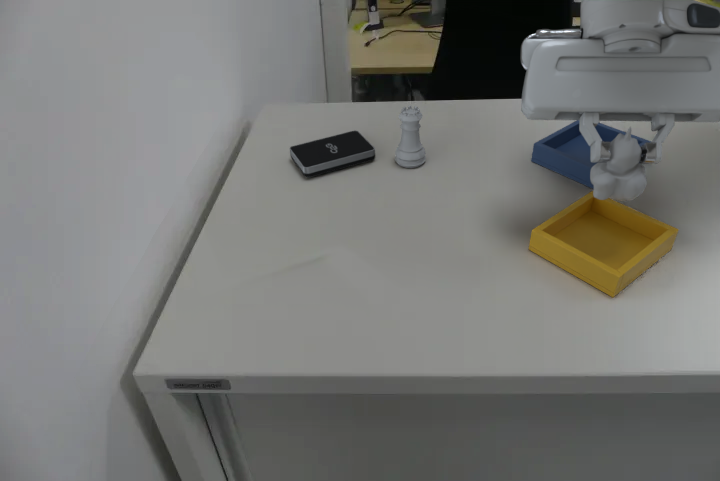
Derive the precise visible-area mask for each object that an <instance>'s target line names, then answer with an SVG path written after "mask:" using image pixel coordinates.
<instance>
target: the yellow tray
mask: <svg viewBox="0 0 720 481" xmlns="http://www.w3.org/2000/svg"><path fill="white" fill-rule="evenodd" d="M679 231H680V229H679V228H676V227H675V226H672V225H670V224H668V223H665V222H664V221H661V220H659V219H657V218H654V217H652V216H650V215H648V214H645V213H643V212H642V211H639V210H636V209H634V208H632V207H630V206H628V205H626V204H624V203H621V202H619V201H618V200H613V199H610V198H608V199H605V200H599V199H597V198H595V197H594V196H593V190H591V191H590V192H588V193H587V194H585V195H584V196H582V197H581V198H579V199H577V200H575V201H574V202H573V203H571V204H570V205H568V206H566V207H565V208H563V209H562V210H559V212H557V213H556V214H554V215H552V216H551V217H549V218H548V219H546V220H545V221H544V222H542V223H540V224H538V226H536V227H534V228H533V229H531V232H530V238H529V244H528V251H531V252H532V253H534V254H536V255H537V256H539V257H541V258H543V259H544V260H546V261H547V262H550V263H552V264H553V265H555V266H557V267H558V268H560V269H562V270H564V271H565V272H567V273H569V274H571V275H573V276H574V277H576V278H578V279H579V280H581V281H583V282H585V283H587V284H588V285H590V286H591V287H593V288H595V289H597V290H598V291H601V292H603V294H607V296H610V297H611V298H615V297H616V296H617V295H618V294H619V293H621V292H622V291H623V290H624V289H626V287H628V286H629V285H630V284H632V283H633V282H634V281H635V280H637V279H638V278H639V277H640V276H641V275H642V274H644V273H645V272H646V271H647V270H648V269H649V268H651V267H652V266H653V265H655V264H656V263H657V262H658V261H659V260H661V259H662V258H663V257H664V256H665V255H667V253H669V252H670V251H671V250H672V249H673V247H674V244H675V241H676V239H677V236H678V233H679Z"/></svg>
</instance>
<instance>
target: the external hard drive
mask: <svg viewBox="0 0 720 481" xmlns="http://www.w3.org/2000/svg"><path fill="white" fill-rule="evenodd" d="M289 154H290V158H291V159H292V161H293V162H294V164H295V165H296V167H297V168H298V169H299V170H300V172H301V174H302V175H303V176H304V177H305V178H307V179H309V178H312V177H316V176H321V175H323V174H324V175H325V174H328V173H331V172H334V171H338V170H343V169H346V168H349V167H350V168H351V167H353V166H356V165H361V164H363V163H367V162H371V161H374V160H375V159H376V147H375V146H374V145H373V144H372V143H371V142H370V141H369V140H368V139H367V138H366V137H365V136H364V135H363V134H362V133H361V131H359V130H357V129H356V130H355V129H354V130H350V131H346V132H342V133H338V134H333V135H330V136H326V137H322V138H318V139H315V140H310V141H306V142H302V143H298V144H295V145H292V146H289Z"/></svg>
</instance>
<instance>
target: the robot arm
mask: <svg viewBox="0 0 720 481" xmlns="http://www.w3.org/2000/svg"><path fill="white" fill-rule="evenodd" d="M579 18H580V21H579V28H563V29H549V28H542V29H537V30H536V31H535V33H532V34H531V33H530V34H529V35H528V36H526V37H525V38H524V39H523V41H522V43H521V45H520V64H521V66H522V67H523V69H524V70H525V71H526V72H525V76H524V80H523V85H522V93H521V101H520V111H521V113H522V114H523V116H524V117H525V118H526V119H527V120H529V121H577V120H579V131H580V132H581V134H582V135H583V137H584V139H585V140H586V142H587V143H588V145H589V146H591V154H590V160H591V162H593V163H607V161H609V160H610V157H611V152H610V151H609V150H610V149H611V142H605V141H602V139H601V137H600V136H599V134H598V132H597V130H596V129H595V127H596V126H597V125H598V123H600V122H649V123H650V130H651V132H656V134H655V135H654V136H653V138H652V139H651V140H650V141H651V142H646V143H645V144H644V145H642V146H641V150H642V153H641V159H640V164H642V165H643V164H646V165H657V164H658V163H661V161H662V157H663V143H664V142H665V140H666V139H667V138H668V136H669V134H670V133H671V132H672V130H673V128H674V127H675V123H720V7H719V6H715V5H712V4H708V3H705V2H701V1H697V0H580V16H579Z"/></svg>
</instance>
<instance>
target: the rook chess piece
mask: <svg viewBox="0 0 720 481" xmlns="http://www.w3.org/2000/svg"><path fill="white" fill-rule="evenodd" d="M412 107H413V108H412ZM398 119H399V120H400V121H401V124H400V125H399V128H400V129H401V134H400V135H401V136H400V142H399V143H398V145H397V147H396V149H395V151H394V154H395V156H394V161H395V162H396V163H397V164H398V166H400V167H402V168H407V169H414V168H419V167H420V166H422V165H423V164H424V163H425V161H426V160H427V158H426V154H427V153H426V148H425V147H424V146H423V143H422V142H421V137H420V129H421V127H422V126H421V123H420V121H421V120H422V119H423V113H422V112H421V109H420V107H419V106H417V105H414V106H412V105H407V107H406V106H403V107H402V108H401V110H400V113H399V114H398Z"/></svg>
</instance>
